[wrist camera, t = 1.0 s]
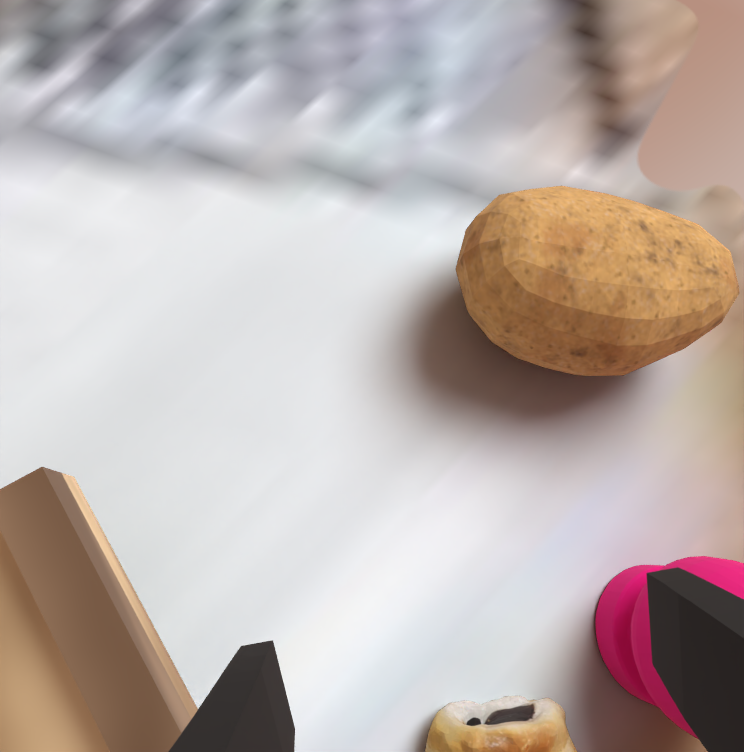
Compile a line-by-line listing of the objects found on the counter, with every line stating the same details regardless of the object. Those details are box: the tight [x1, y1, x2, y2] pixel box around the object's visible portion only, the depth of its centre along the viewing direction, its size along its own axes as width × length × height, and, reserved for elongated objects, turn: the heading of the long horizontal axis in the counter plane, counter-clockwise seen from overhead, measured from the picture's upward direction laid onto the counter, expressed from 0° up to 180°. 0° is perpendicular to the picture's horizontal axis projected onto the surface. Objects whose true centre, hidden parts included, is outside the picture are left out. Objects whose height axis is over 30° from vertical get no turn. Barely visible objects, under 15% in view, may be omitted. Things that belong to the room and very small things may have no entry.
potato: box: [456, 186, 739, 376], centre depth 28 cm, size 10×14×8 cm
